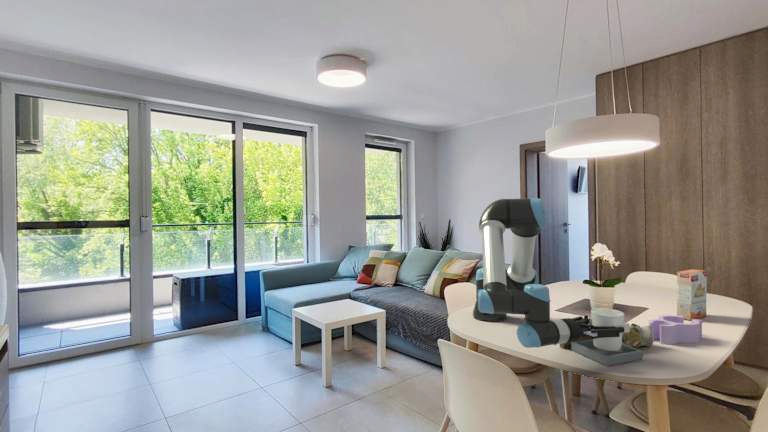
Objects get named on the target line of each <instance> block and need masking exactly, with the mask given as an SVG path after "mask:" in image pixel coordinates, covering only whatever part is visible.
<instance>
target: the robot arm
mask: <svg viewBox="0 0 768 432" xmlns="http://www.w3.org/2000/svg"><path fill="white" fill-rule="evenodd" d="M545 209H546V207H545V203H544V200H543V199H541V198H538V197H537V198H533V197H530V198H507V199H506V198H501V199H498V200H497V199H496V200H495V201H493V202H491V203H490V204H489V205H488V206H487V207H485V209H484V210H483V213H481V216H480V218H479V223H478V230H479V232H480V234H481V242H482V243H481V245H482V248H481V249H482V267H481V268H479V269H477V270H476V272H475V273H476V274H475V281H476V282H475V284H476V287H475V288H476V290H475V291H476V292H475V293H476V295H475V296H476V298H475V299H476V301H475V304H474V307H473V311H472V317H473V316H474V317H476V318H478V319H482V320H488V321H487V322H501V321H500V320H502V321H505V320H506V319H507V315H508V314H509V315H523V316H524V322H523V323H520V324H519V325H518V327H517V329H516V337H517V340H518V342H519V343H520V344H521V345H522V346H523V347H524V348H527V349H531V348H532V349H533V348H540V347H545V346H547V347H548V346H558V345H560V344H561V343H569V342H575V341H577V340H578V339H579V338H580V336H591V338H592V339H596V338H607V337H620V333H626V332H630V326H631V325H630V323H628V322H627V323H623V324H620V325H612V326H593V325H592V317H589V315H584V317H583V316H576V317H572V318H570V317H567V318H557V319H551V316H550V315H551V314H550V313H551V308H550V306H551V303H550V302H551V299H550V297H551V296H550V289H549V287H548V286H547V285H544V284H542V283H541V284H540V283H539V275H538V274H539V273H538V272H537V270H536V269H534V268H533V264H534V263H533V262H534V253H535V247H536V245H535V244H536V237H537V236H538V235H539V234H540V233H541V230H543V229H546V228H547V214H546V210H545ZM507 229H509V230H510V232H511V233H512V234H513V238H512V250H511V252H512V253H511V264H510V265H509V266H508V268H507V269H506V258H505V245H504V233H505V232H506V230H507ZM474 317H473V318H474ZM478 319H477V320H478ZM504 319H505V320H504ZM482 320H481V321H482ZM589 327H590V328H589Z"/></svg>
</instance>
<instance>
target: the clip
mask: <svg viewBox="0 0 768 432" xmlns="http://www.w3.org/2000/svg"><path fill="white" fill-rule="evenodd" d="M684 320H685V319H684V316H682V315H679V316H677V315H672V314H671V315H669V314H667V315H665V314H664V315H659V316H658V318H657V319H649V320H648V326H649V325H650V326H651V329H652V334H653V342H654V341H655V339H659V344H661V345H669V344H671V345H676V344H678V342H684V344H695V343H694V342H697V343H699V342H701V341H700V339H702V338H703V320H702V319H699V318H698V319H691V320H690V322H691V323H685V321H684ZM698 341H699V342H698ZM685 342H686V343H685Z"/></svg>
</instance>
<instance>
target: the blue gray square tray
mask: <svg viewBox="0 0 768 432" xmlns="http://www.w3.org/2000/svg"><path fill="white" fill-rule="evenodd" d="M570 349H571V351H572V352H574V353H576V354H578V355H580V356H583V357H584V358H587V359H590V360H592V361H594V362H597V363H599V364H601V365H603V366H605V367H606V368H607V367H613V366H619V365H624V364H629V363H635V362H640V361H641V362H642V361H644V351H643V350H641V349H637V348H636V349H635V348H633V347H630V346H627V345H624V344H623V343H622V347H621V350H618V351H607V350H603V349H599V348H597V347H595V346H594V344H593V339H589V340H582V341H576V342H571V348H570Z"/></svg>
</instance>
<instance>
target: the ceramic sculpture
mask: <svg viewBox="0 0 768 432" xmlns="http://www.w3.org/2000/svg"><path fill="white" fill-rule="evenodd" d="M622 344H624V345H627V346H630V347H633V348H635V349H637V348H639V347H641V346H644V347H649V348H651V347H652V345H654V341H653V334H652V329H651V326H650V325H649V324H648V325H645V326H640V325H638V324H636V323H631V325H630V332H626V333H623V335H622Z"/></svg>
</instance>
